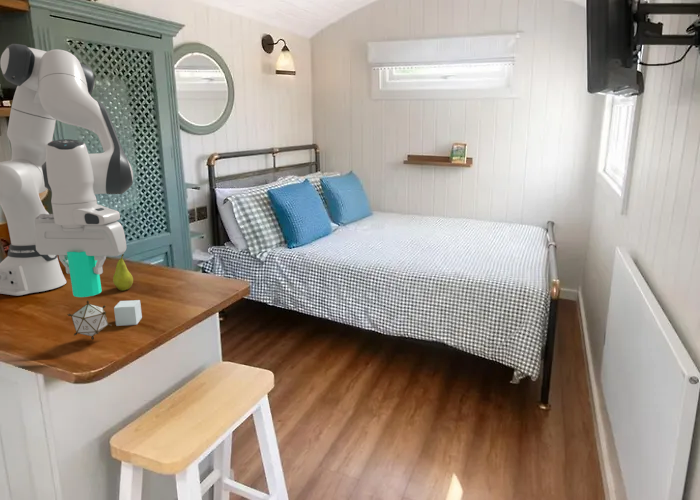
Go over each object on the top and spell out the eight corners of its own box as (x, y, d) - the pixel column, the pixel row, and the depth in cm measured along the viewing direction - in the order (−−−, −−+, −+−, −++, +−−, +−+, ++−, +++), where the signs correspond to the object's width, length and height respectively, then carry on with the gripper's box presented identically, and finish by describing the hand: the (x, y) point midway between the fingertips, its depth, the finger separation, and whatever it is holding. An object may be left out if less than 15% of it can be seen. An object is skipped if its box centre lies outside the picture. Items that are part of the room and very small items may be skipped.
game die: (63, 346, 114) (56, 305, 111) (87, 331, 122) (82, 293, 119) (98, 348, 112) (92, 307, 110) (120, 333, 120) (116, 295, 118)
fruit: (120, 287, 156) (115, 250, 153) (137, 287, 156) (133, 250, 153) (110, 293, 151) (105, 255, 148) (128, 293, 150) (124, 255, 147)
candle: (90, 298, 111) (82, 246, 108) (66, 296, 112) (58, 245, 109) (107, 289, 117) (101, 240, 114) (85, 288, 118) (78, 239, 115)
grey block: (116, 326, 125) (113, 307, 124) (122, 318, 130) (120, 301, 129) (136, 324, 126) (134, 306, 125) (142, 317, 131) (140, 300, 130)
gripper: (23, 216, 108) (33, 276, 111) (109, 217, 105) (117, 278, 109) (43, 211, 114) (53, 268, 117) (126, 212, 112) (133, 270, 115)
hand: (84, 273), depth 113 cm, fingers closed on candle, 5 cm apart
